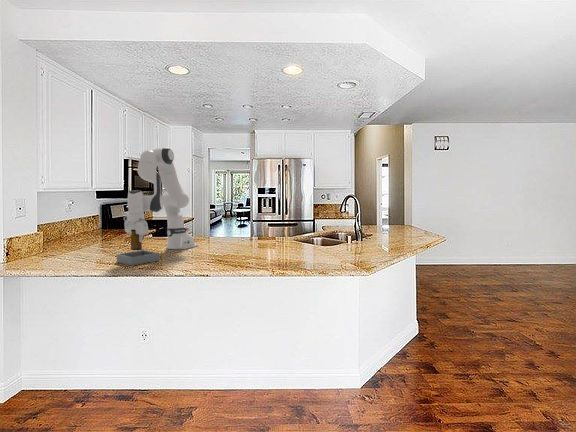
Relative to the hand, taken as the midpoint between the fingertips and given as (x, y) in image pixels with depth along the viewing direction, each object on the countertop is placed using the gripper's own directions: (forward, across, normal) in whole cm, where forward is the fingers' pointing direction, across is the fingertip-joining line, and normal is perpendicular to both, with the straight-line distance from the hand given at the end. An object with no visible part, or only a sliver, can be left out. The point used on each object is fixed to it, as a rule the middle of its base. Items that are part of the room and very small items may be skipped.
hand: (136, 241), depth 253 cm
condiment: (+5, -1, 0) cm, 5 cm away
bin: (+12, 0, 0) cm, 12 cm away
